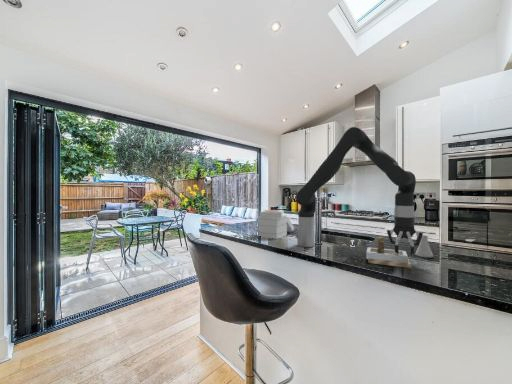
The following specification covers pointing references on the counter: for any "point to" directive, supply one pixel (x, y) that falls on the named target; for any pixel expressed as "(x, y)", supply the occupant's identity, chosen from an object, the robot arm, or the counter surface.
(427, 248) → the flask
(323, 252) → the counter surface
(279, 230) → the paper dispenser
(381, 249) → the plate
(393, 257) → the shallow rectangular tray
